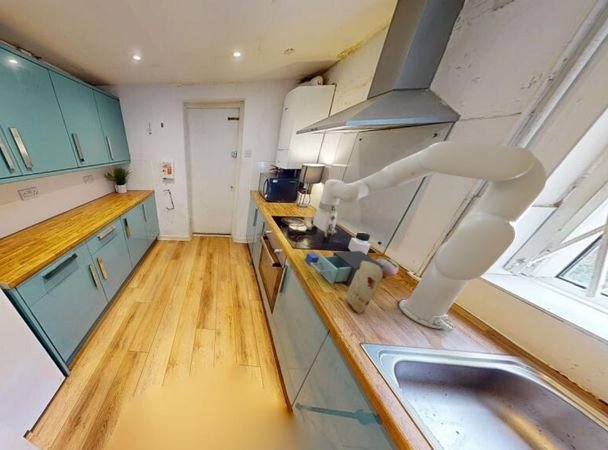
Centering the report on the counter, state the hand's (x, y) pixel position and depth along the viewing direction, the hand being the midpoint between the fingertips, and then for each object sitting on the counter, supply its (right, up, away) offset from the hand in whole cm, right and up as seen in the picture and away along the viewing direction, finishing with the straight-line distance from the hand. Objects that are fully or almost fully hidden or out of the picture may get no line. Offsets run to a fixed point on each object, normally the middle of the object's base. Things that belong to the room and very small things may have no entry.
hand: (318, 238), depth 99 cm
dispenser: (+14, -18, -3) cm, 23 cm away
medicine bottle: (+32, -9, +17) cm, 38 cm away
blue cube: (0, -13, +6) cm, 14 cm away
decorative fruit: (+30, -18, -2) cm, 35 cm away
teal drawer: (+3, -17, -5) cm, 18 cm away
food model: (+2, -26, -21) cm, 33 cm away
